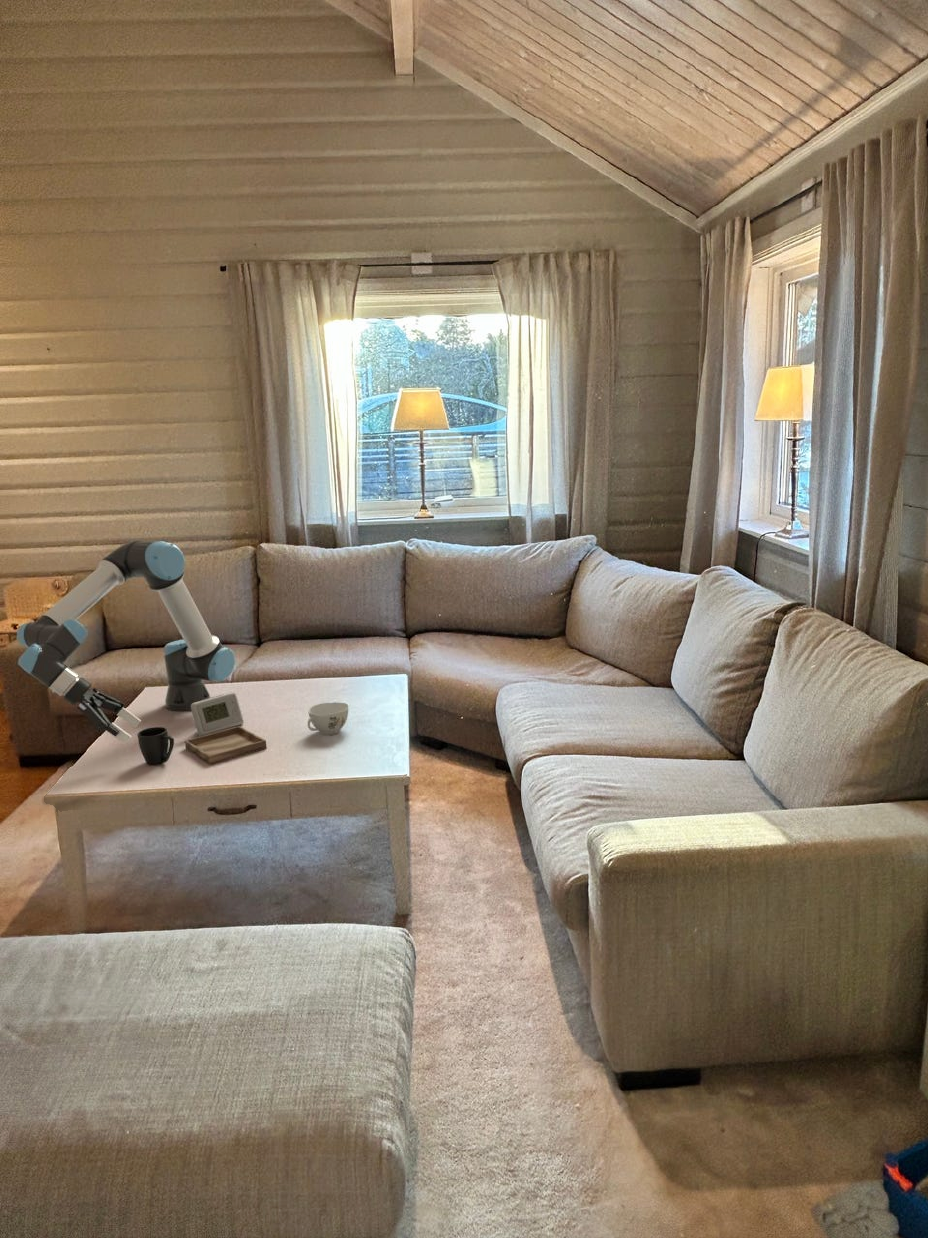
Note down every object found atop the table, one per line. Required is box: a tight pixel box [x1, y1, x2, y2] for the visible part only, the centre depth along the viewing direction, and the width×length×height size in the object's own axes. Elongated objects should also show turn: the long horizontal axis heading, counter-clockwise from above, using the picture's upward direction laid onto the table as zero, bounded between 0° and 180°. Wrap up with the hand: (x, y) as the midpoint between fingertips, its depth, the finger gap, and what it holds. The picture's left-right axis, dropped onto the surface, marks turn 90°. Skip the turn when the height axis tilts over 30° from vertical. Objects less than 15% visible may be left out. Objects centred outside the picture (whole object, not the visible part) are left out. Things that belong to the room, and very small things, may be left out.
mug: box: [137, 726, 175, 767], centre depth 259 cm, size 8×12×10 cm
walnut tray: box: [184, 725, 267, 766], centre depth 269 cm, size 18×18×2 cm
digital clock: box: [191, 692, 245, 737], centre depth 286 cm, size 16×9×11 cm, turn 122°
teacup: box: [307, 701, 349, 736], centre depth 278 cm, size 15×12×8 cm
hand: (133, 732), depth 256 cm, fingers open, 13 cm apart
